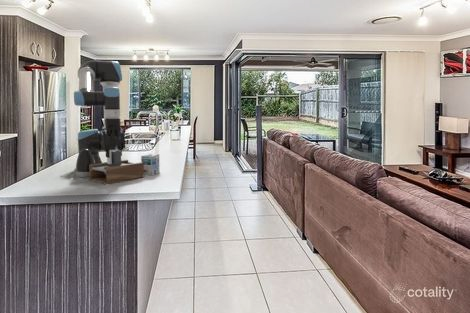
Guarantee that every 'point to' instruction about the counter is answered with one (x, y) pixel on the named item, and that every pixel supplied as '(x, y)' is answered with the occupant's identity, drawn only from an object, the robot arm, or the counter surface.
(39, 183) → the counter surface
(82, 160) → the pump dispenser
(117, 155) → the cover plate
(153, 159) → the light bulb box
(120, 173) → the walnut box
